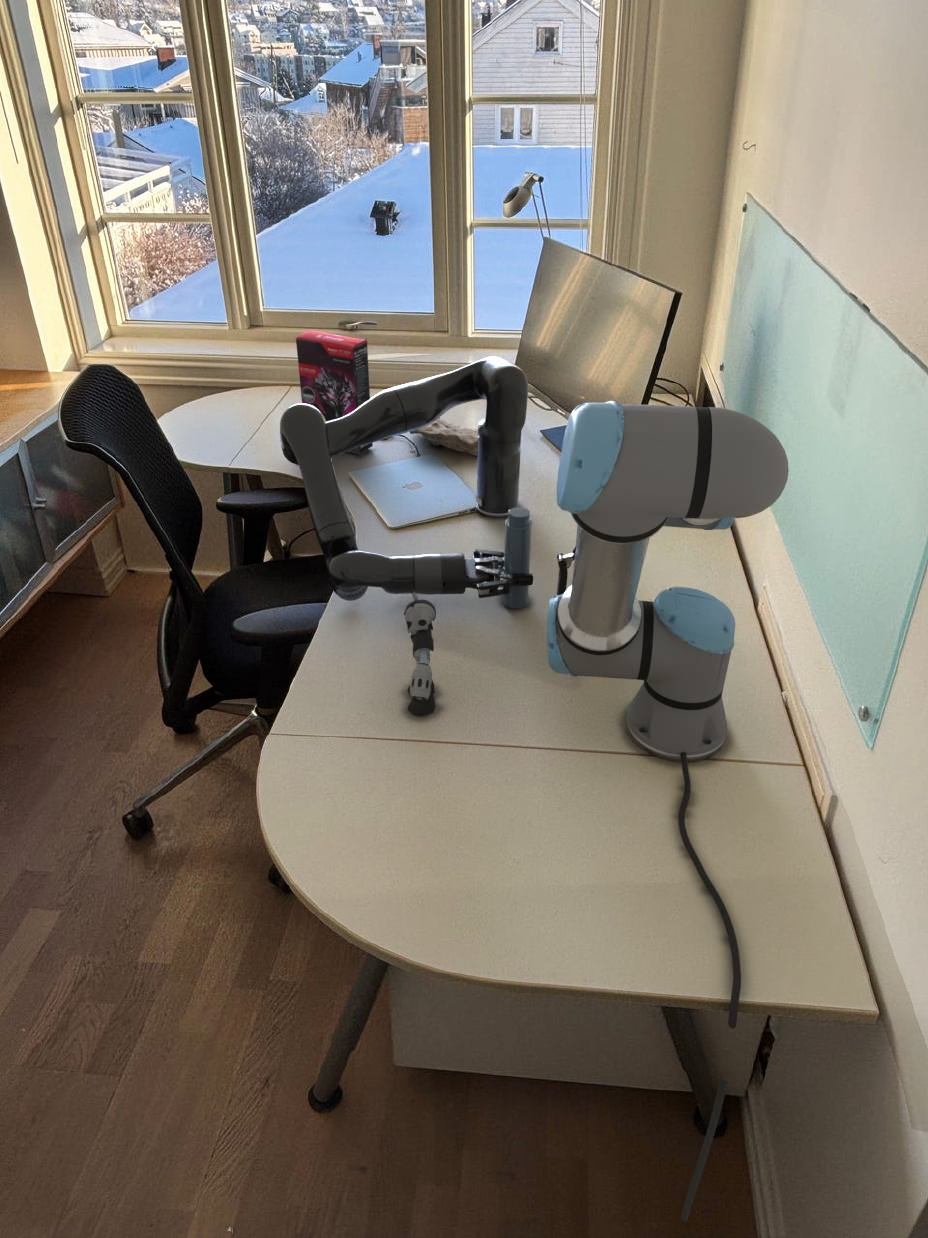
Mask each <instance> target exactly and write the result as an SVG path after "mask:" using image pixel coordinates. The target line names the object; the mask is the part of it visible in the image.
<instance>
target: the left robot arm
mask: <svg viewBox="0 0 928 1238" xmlns="http://www.w3.org/2000/svg"><path fill="white" fill-rule="evenodd" d="M528 399H529V382H528V378H527V375H526V373H525V372H524V370H523V369H521V368H520V367H519V366H517V365H516V364H515V363H513V362H511V361H510V360H509V359H507V358H505V357H502V356H498V355H494V356H488V357H485V358H482V359H480V360H477V361H475V362H472V363H470V364H467V365H465V366H462V367H459V368H458V369H455V370H453V371H449V372H446V373H442V374H438V375H434V376H430V377H426V378H423V379H420V380H416V381H412V382H408V383H404V384H401V385H397V386H393V387H390V388H387V389H383V390H381V391H380V392H378V393H376V394H375V395H372V397H370V399H369V400H367V401H366V402H365V403H363V404H362V405H361V406H359V407H358V408H357V409H355V410H354V411H352V412H351V413H349V414H347V415H345V416H343V417H341V418H338V419H335V420H331V421H328V422H326V419H325V417H324V416H323V414H322V413H321V412H320V411H319V410H318V409H317V408H316V407H314V406H312V405H309V404H302V403H296V404H293V405H290V406H289V407H287V408H286V410H285V411H284V412H283V413H282V415H281V417H280V422H279V428H278V430H279V431H278V432H279V439H280V447H281V452H282V454H283V456H284V458H285V459H286V460H287V461H288V462H290V463H291V464H294V465H296V466H298V467H299V471H300V475H301V479H302V482H303V487H304V493H305V497H306V502H307V506H308V511H309V515H310V519H311V523H312V527H313V530H314V532H315V536H316V540H317V542H318V544H319V547H320V549H321V551H322V555H323V558H324V562H325V566H326V570H327V575H328V578H329V582H330V586H331V588H332V591H333V592H334V593H335V595H336V596H337V597H338V598H340V599H342V600H344V601H347V602H348V601H350V602H353V601H357V600H359V599H361V598H362V597H363V596H364V595H365V594H366V593H367V592H368V589H369V588H379V589H382V590H383V591H384V592H385V593H387V594H389V595H390V594H391V595H412V593H411V589H413V590H414V592H415V594H416V595H425V596H429V595H430V596H431V595H434V596H435V595H463V594H465V593H466V589H473V590H476V591H477V597H478V598H479V599H485V598H492V597H496V596H503V595H504V594H509V593H510V589H511V588H512V587H513V586H529V587H530V586H533V585H534V574H533V573H531V572H530V573H521V574H513V575H512V574H507V573H504V551H498V550H488V549H480V548H476V549H473V557H470V558H466V556H465V554H464V553H463V552H447V553H446V552H445V553H422V554H416V555H413V554H411V555H393V556H392V555H386V554H382V553H376V552H369V551H363V550H359V548H358V544H357V538H356V531H355V529H354V525H353V522H352V519H351V516H350V512H349V510H348V509H349V508H348V507H347V503H346V501H345V498H344V496H343V495H344V494H343V492H342V490H341V486H340V483H339V481H338V478H337V474H336V471H335V466H334V464H333V461H332V458H334V457H336V456H338V455H342V454H343V453H346V452H347V451H348V450H351V449H353V448H356V447H359V446H362V445H366V444H369V443H373V444H374V443H375V442H378V441H382V440H385V439H388V438H391V437H395V436H400V435H403V434H407V433H410V431H414V430H417V429H420V428H423V427H425V426H427V425H429V424H431V423H433V422H434V421H435V420H437V419H438V418H439V417H440V418H441V417H442V416H443V415H444V414H445V413H447V412H448V411H449V410H451V409H453V408H454V407H457V406H461V405H463V404H467V403H470V402H476V401H480V400H485V401H486V403H485V405H486V407H485V417H484V418H482V419H481V420H480V421H479V422H478V425H477V430H478V456H477V465H476V466H477V467H476V468H477V469H476V470H477V471H476V478H477V479H476V495H475V501H476V503H478V506H479V508H478V507H477V506H476V505H475V508H476V510H477V512H478V513H479V514H481V515H483V516H486V517H490V518H491V517H492V518H506V517H508V514H509V512H508V511H509V510H510V509H512V508H516V507H519V493H520V470H521V451H522V450H521V449H522V448H521V446H522V444H521V443H522V430H523V428H524V426H525V423H526V419H527V411H528ZM503 579H504V580H503Z"/></svg>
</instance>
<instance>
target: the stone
mask: <svg viewBox="0 0 928 1238" xmlns="http://www.w3.org/2000/svg"><path fill="white" fill-rule="evenodd" d="M409 434H411V435H414V434H416V435H421V436H422V437H423V438H424V439H425V440H429V441H430V443H431V444H432V445H434V446H443V447H445V448H446V449H447V448H448V449H452V450H454V451H457V452H462V453H464V452H465V453H468V454H470V455H473V456H476V457H478V428H477V429H472V428H468V427H461V426H456V425H455V424H453V423H450V422H448V421H446V420H445V419H441V416H440V417H439V418H438V419H437V420H435V421H434V422H433V423H431V424H429V425H427V426H425V427H423V428H420V429H417V430H414V431H410V432H409Z"/></svg>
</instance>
